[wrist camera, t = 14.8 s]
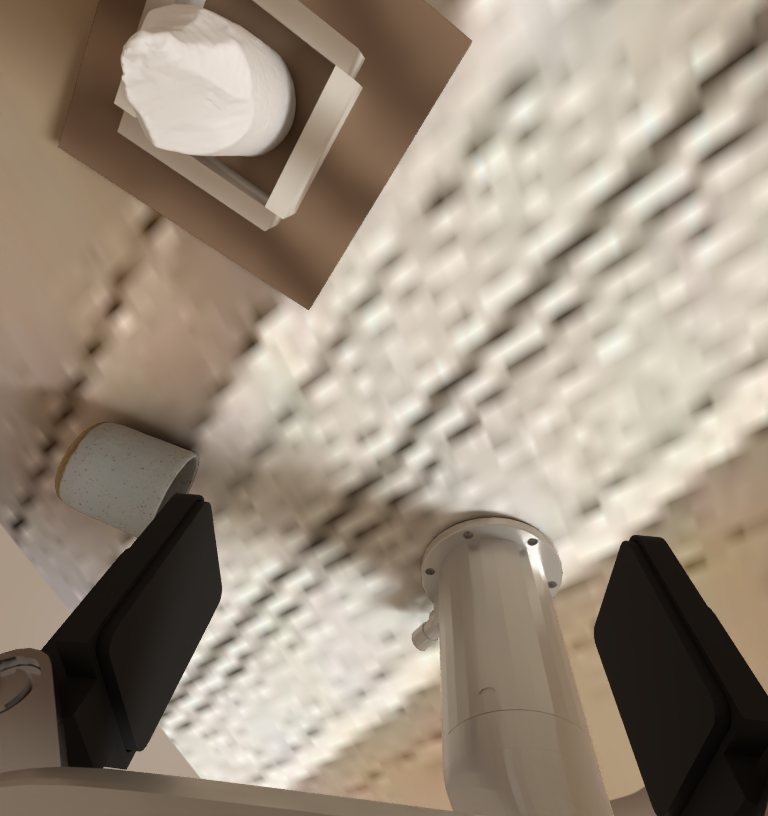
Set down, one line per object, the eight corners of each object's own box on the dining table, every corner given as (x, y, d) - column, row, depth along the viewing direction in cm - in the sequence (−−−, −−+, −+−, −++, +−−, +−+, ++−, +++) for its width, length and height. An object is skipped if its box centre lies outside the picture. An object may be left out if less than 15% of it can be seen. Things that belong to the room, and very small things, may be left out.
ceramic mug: (110, 400, 40) (45, 453, 33) (207, 436, 41) (162, 495, 34) (98, 492, 45) (39, 554, 38) (184, 523, 46) (141, 588, 39)
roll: (167, 193, 19) (35, 84, 18) (259, 177, 30) (181, 108, 28) (247, 52, 17) (103, -86, 16) (317, 89, 28) (235, 9, 26)
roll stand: (311, 306, 35) (298, 323, 31) (68, 147, 31) (22, 146, 27) (470, 44, 27) (477, 28, 23) (172, -209, 23) (126, -274, 20)
